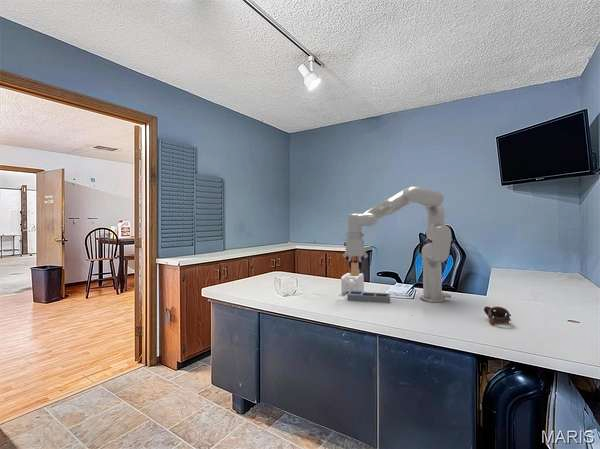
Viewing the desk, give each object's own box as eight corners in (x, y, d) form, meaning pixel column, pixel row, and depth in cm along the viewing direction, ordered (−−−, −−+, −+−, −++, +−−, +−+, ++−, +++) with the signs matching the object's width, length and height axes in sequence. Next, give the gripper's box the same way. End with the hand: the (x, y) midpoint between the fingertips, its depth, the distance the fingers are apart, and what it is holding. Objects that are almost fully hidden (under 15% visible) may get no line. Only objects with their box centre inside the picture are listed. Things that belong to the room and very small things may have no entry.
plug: (359, 274, 175) (359, 259, 175) (358, 276, 172) (358, 260, 171) (352, 274, 177) (352, 259, 176) (351, 275, 173) (351, 260, 173)
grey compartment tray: (389, 301, 173) (389, 292, 173) (389, 305, 165) (389, 296, 165) (349, 299, 180) (349, 290, 180) (347, 303, 172) (347, 294, 172)
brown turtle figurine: (517, 325, 135) (516, 311, 132) (502, 337, 133) (501, 324, 129) (490, 311, 146) (489, 297, 142) (476, 322, 143) (474, 309, 140)
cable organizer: (357, 297, 184) (357, 277, 184) (340, 295, 189) (340, 276, 188) (364, 291, 198) (363, 272, 197) (347, 289, 202) (347, 271, 202)
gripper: (370, 235, 175) (371, 268, 175) (340, 235, 179) (341, 267, 180) (369, 236, 167) (370, 270, 168) (338, 236, 172) (339, 269, 173)
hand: (355, 268), depth 174 cm, fingers closed on plug, 4 cm apart
